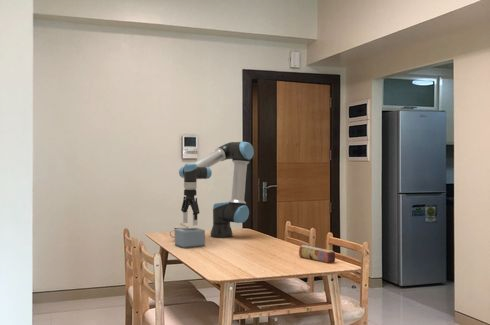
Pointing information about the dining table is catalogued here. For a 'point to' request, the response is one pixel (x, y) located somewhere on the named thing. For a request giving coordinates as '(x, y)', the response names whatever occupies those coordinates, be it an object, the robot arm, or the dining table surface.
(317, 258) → the snack package
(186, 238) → the grey box with opening
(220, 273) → the dining table surface
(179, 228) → the teacup with lid
